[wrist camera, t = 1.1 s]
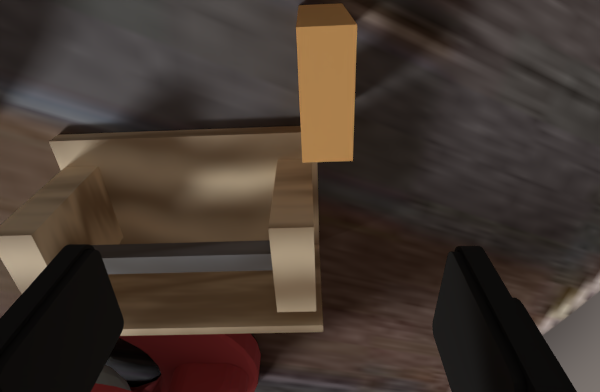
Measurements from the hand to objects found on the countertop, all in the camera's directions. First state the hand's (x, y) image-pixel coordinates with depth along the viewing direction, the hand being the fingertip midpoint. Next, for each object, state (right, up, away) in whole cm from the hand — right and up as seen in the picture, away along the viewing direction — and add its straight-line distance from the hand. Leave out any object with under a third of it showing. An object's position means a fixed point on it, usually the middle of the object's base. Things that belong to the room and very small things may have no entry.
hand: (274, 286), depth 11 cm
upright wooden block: (+2, +13, +20) cm, 24 cm away
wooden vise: (-9, +3, +27) cm, 29 cm away
